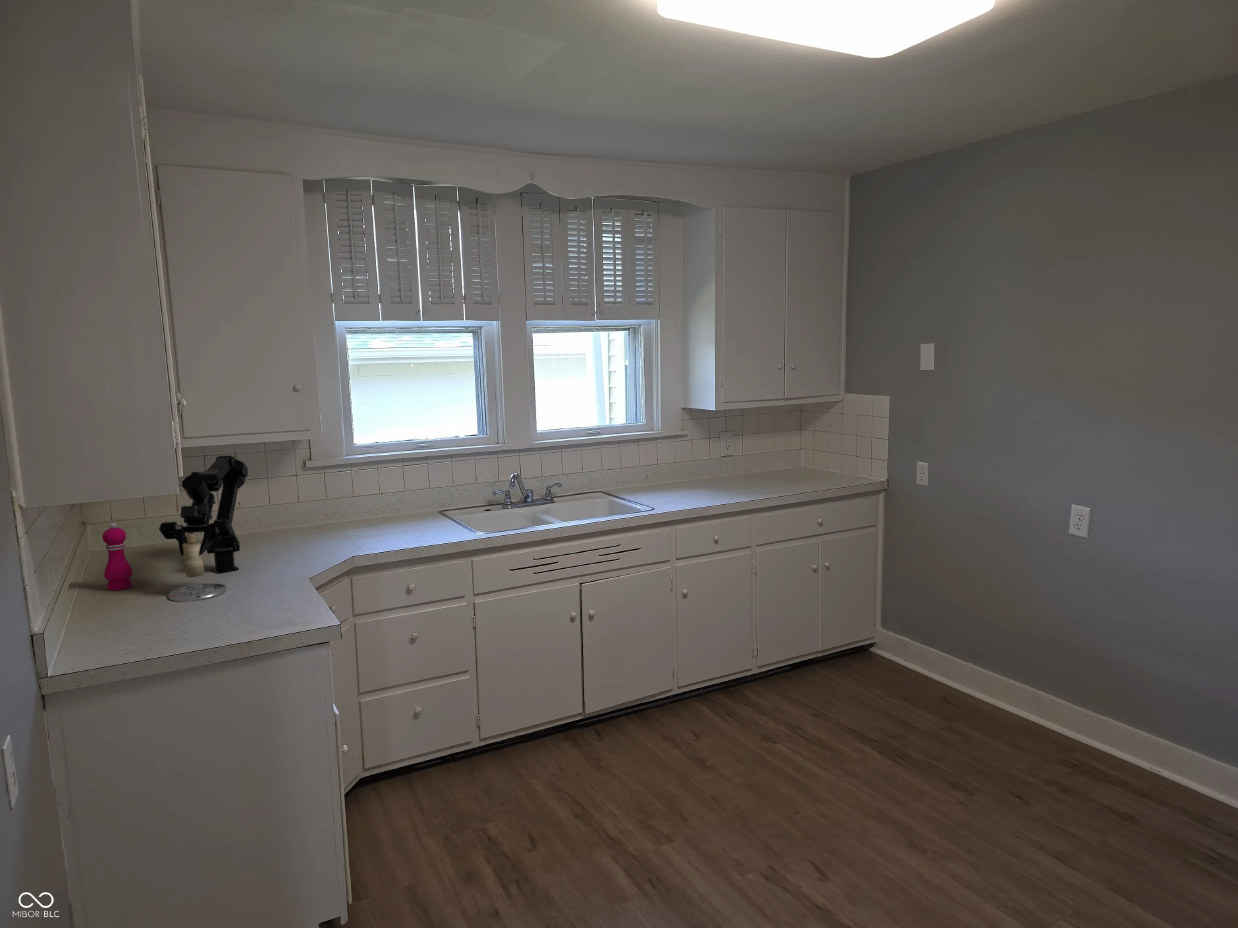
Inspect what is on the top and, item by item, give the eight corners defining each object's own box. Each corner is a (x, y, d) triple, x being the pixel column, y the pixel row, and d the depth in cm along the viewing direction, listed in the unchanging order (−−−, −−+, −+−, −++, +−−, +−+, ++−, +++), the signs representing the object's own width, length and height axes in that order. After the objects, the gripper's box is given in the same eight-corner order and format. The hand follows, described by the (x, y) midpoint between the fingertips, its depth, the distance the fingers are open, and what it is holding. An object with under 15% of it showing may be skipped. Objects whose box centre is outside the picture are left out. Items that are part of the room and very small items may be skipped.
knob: (182, 576, 228) (177, 533, 226) (196, 571, 232) (192, 530, 230) (193, 578, 226) (189, 535, 224) (208, 573, 230) (204, 531, 228)
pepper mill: (109, 585, 239) (101, 521, 236) (136, 582, 242) (129, 519, 239) (103, 592, 233) (95, 526, 230) (131, 589, 235) (124, 524, 232)
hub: (168, 591, 233) (168, 584, 233) (224, 583, 240) (224, 576, 240) (168, 605, 220) (167, 598, 220) (227, 596, 227) (227, 589, 227)
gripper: (158, 495, 228) (145, 541, 219) (226, 492, 231) (217, 538, 222) (171, 515, 237) (160, 561, 228) (237, 513, 240) (228, 557, 231)
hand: (191, 554), depth 227 cm, fingers closed on knob, 5 cm apart
